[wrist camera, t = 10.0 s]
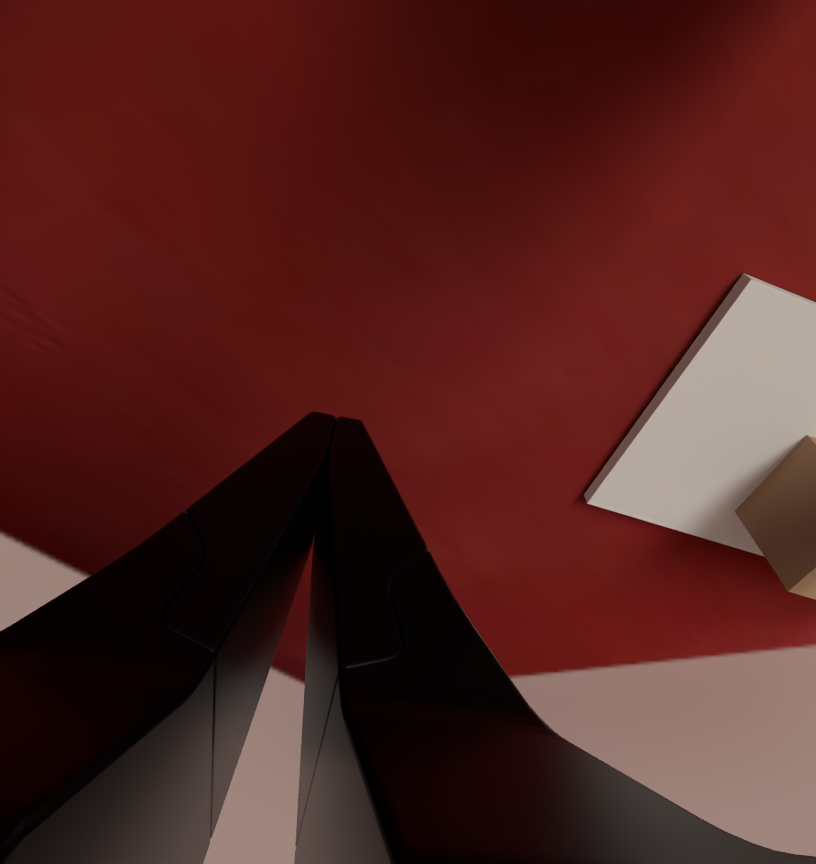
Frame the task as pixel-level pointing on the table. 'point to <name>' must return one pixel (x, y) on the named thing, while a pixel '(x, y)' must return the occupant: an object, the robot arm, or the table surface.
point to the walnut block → (787, 518)
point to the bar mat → (720, 418)
